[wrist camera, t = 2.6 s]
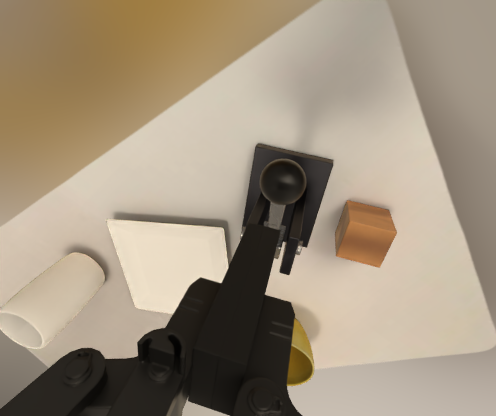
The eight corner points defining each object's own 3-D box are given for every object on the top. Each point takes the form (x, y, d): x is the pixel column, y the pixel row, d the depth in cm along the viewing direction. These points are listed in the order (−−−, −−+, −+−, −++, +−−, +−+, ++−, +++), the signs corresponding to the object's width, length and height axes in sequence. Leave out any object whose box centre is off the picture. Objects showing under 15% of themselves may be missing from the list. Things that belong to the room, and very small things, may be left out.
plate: (238, 315, 50) (234, 324, 49) (140, 300, 55) (134, 309, 53) (227, 220, 42) (223, 228, 40) (112, 212, 46) (104, 219, 44)
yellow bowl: (246, 304, 49) (234, 342, 43) (306, 298, 45) (302, 338, 39) (266, 346, 52) (258, 385, 46) (323, 343, 49) (322, 386, 43)
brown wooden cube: (347, 199, 36) (349, 220, 32) (389, 209, 35) (397, 232, 31) (334, 232, 38) (335, 256, 34) (373, 242, 38) (379, 268, 34)
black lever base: (257, 143, 35) (229, 182, 25) (333, 159, 34) (335, 208, 24) (243, 225, 41) (216, 283, 31) (307, 242, 40) (300, 308, 30)
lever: (267, 144, 20) (255, 181, 18) (314, 154, 20) (305, 193, 18) (259, 228, 31) (251, 255, 30) (288, 236, 31) (281, 264, 29)
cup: (119, 272, 52) (56, 341, 40) (96, 290, 56) (33, 357, 44) (81, 238, 50) (4, 300, 38) (61, 259, 54) (-16, 321, 42)
